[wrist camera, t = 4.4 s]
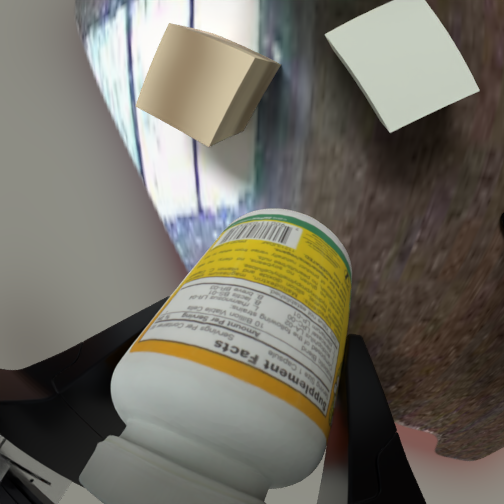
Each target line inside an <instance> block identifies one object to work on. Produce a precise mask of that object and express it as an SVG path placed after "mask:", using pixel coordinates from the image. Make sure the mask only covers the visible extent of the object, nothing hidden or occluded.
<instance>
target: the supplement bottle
mask: <svg viewBox="0 0 504 504" xmlns="http://www.w3.org/2000/svg"><path fill="white" fill-rule="evenodd" d="M351 284H352V268H351V262H350V259H349V256H348V254H347V251H346V249H345V248H344V246H343V245H342V243H341V242H340V241H339V239H338V238H337V237H336V236H335V235H334V234H333V233H332V232H331V231H330V230H329V229H328V228H327V227H325V226H324V225H323V224H321V223H320V222H318V221H317V220H315V219H314V218H312V217H310V216H308V215H305V214H302V213H299V212H295V211H291V210H286V209H262V210H257V211H253V212H250V213H247V214H245V215H243V216H241V217H240V218H238V219H236V220H235V221H233V222H232V223H231V224H230V225H229V226H228V227H227V228H226V229H225V230H224V231H223V232H222V233H221V235H220V236H219V237H218V238H217V240H216V241H215V242H214V243H213V244H212V246H211V247H210V248H209V249H208V251H207V252H206V253H205V254H204V255H203V257H202V258H201V259H200V260H199V261H198V263H197V264H196V265H195V266H194V267H193V269H192V270H191V271H190V272H189V274H188V275H187V276H186V277H185V279H184V280H183V281H182V282H181V284H180V285H179V286H178V288H177V289H176V290H175V291H174V292H173V294H172V295H171V296H170V297H169V299H168V300H167V301H166V302H165V304H164V305H163V306H162V308H161V309H160V310H159V311H158V313H157V314H156V315H155V316H154V318H153V319H152V320H151V322H150V323H149V324H148V325H147V327H146V328H145V329H144V330H143V332H142V333H141V334H140V335H139V337H138V338H137V339H136V340H135V342H134V343H133V344H132V345H131V347H130V348H129V349H128V351H127V352H126V353H125V355H124V356H123V357H122V359H121V360H120V362H119V363H118V364H117V366H116V368H115V370H114V373H113V376H112V380H111V396H112V401H113V404H114V407H115V409H116V411H117V413H118V414H119V416H120V418H121V419H122V420H123V422H124V423H125V424H126V425H127V426H126V428H125V430H124V431H123V432H122V434H121V435H120V436H119V437H117V436H108V437H107V438H106V439H105V440H104V441H102V442H99V443H98V444H97V447H96V449H95V451H94V453H93V455H92V456H91V458H90V460H89V461H88V463H87V464H86V466H85V468H84V469H83V471H82V473H81V474H80V476H79V481H80V483H81V484H82V485H83V486H84V488H86V489H87V490H88V491H89V492H90V493H91V494H93V495H94V496H95V497H96V498H98V499H99V500H100V501H101V502H102V503H104V504H266V503H264V500H265V497H266V494H267V491H268V489H276V488H283V487H287V486H290V485H293V484H296V483H298V482H300V481H302V480H303V479H305V478H306V477H307V476H309V475H310V474H311V473H312V472H313V471H314V470H315V469H316V467H317V466H318V464H319V463H320V461H321V460H322V457H323V455H324V452H325V449H326V446H327V442H328V438H329V433H330V430H331V427H332V421H333V414H334V410H335V405H336V399H337V393H338V387H339V382H340V377H341V369H342V364H343V359H344V352H345V344H346V337H347V329H348V320H349V312H350V301H351Z"/></svg>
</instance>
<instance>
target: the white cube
mask: <svg viewBox="0 0 504 504" xmlns="http://www.w3.org/2000/svg"><path fill="white" fill-rule="evenodd" d="M325 36H326V38H327V40H328V42H329V44H330V46H331V48H332V49H333V51H334V52H335V53H336V55H337V56H338V57H339V59H340V60H341V62H342V63H343V64H344V66H345V67H346V69H347V70H348V71H349V73H350V74H351V76H352V77H353V79H354V80H355V82H356V83H357V85H358V86H359V88H360V89H361V91H362V92H363V94H364V95H365V97H366V99H367V100H368V102H369V103H370V105H371V107H372V108H373V110H374V112H375V113H376V115H377V117H378V118H379V120H380V121H381V123H382V124H383V125H384V126H385V127H386V129H387V130H388V131H389V132H390V133H391V132H393V131H395V130H397V129H399V128H401V127H403V126H405V125H407V124H409V123H411V122H413V121H416V120H418V119H420V118H422V117H424V116H426V115H428V114H430V113H432V112H434V111H437V110H439V109H441V108H443V107H445V106H447V105H449V104H452V103H454V102H456V101H458V100H460V99H463V98H465V97H467V96H469V95H471V94H474V93H476V92H478V91H480V90H479V88H478V86H477V84H476V82H475V80H474V78H473V76H472V74H471V72H470V70H469V68H468V66H467V65H466V63H465V61H464V59H463V57H462V55H461V54H460V52H459V50H458V49H457V47H456V45H455V44H454V42H453V40H452V39H451V37H450V36H449V34H448V32H447V31H446V29H445V28H444V26H443V25H442V23H441V22H440V20H439V19H438V18H437V16H436V15H435V13H434V12H433V11H432V9H431V8H430V6H429V5H428V4H427V2H426V1H425V0H393V1H391V2H389V3H386V4H384V5H382V6H380V7H377V8H375V9H373V10H371V11H369V12H367V13H365V14H362V15H360V16H358V17H356V18H354V19H352V20H350V21H349V22H347V23H345V24H343V25H341V26H339V27H337V28H335V29H333V30H332V31H330V32H328V33H326V34H325Z"/></svg>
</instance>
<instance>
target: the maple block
mask: <svg viewBox="0 0 504 504" xmlns="http://www.w3.org/2000/svg"><path fill="white" fill-rule="evenodd" d="M280 66H281V64H279V63H277V62H275V61H273V60H271V59H269V58H267V57H265V56H263V55H261V54H259V53H257V52H255V51H252V50H250V49H248V48H246V47H244V46H242V45H239V44H237V43H235V42H232V41H230V40H228V39H225V38H223V37H220V36H218V35H215V34H213V33H209V32H205V31H201V30H197V29H193V28H189V27H185V26H180V25H175V24H171V23H169V25H168V27H167V29H166V31H165V33H164V35H163V37H162V40H161V42H160V44H159V46H158V49H157V51H156V53H155V56H154V58H153V61H152V63H151V66H150V68H149V71H148V73H147V76H146V78H145V81H144V84H143V87H142V89H141V92H140V95H139V98H138V101H137V104H136V107H138V108H140V109H141V110H143V111H145V112H147V113H149V114H151V115H153V116H155V117H156V118H158V119H160V120H162V121H164V122H165V123H167V124H169V125H171V126H173V127H174V128H176V129H178V130H180V131H182V132H183V133H185V134H187V135H189V136H190V137H192V138H194V139H195V140H197V141H199V142H201V143H202V144H204V145H206V146H207V147H210V146H212V145H214V144H216V143H218V142H221V141H223V140H225V139H227V138H229V137H231V136H233V135H236V134H238V133H240V132H242V131H244V129H245V127H246V125H247V123H248V121H249V120H250V118H251V116H252V114H253V112H254V111H255V109H256V107H257V105H258V103H259V102H260V100H261V98H262V96H263V95H264V93H265V91H266V89H267V88H268V86H269V84H270V83H271V81H272V79H273V77H274V76H275V74H276V72H277V71H278V69H279V67H280Z"/></svg>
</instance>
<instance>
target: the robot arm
mask: <svg viewBox="0 0 504 504" xmlns="http://www.w3.org/2000/svg"><path fill="white" fill-rule="evenodd" d="M501 222H502V225H503V227H504V213H503V214H502V216H501ZM169 297H170V296H169ZM169 297H166V298H164V299H162V300H160V301H158V302H156V303H155V304H153V305H151V306H149V307H147V308H145V309H143V310H141V311H140V312H138V313H136V314H134V315H132V316H130V317H128V318H126V319H124V320H123V321H121V322H119V323H117V324H115V325H113V326H111V327H109V328H108V329H106V330H104V331H102V332H100V333H98V334H96V335H94V336H93V337H91V338H89V339H87V340H85V341H84V342H81V343H79V344H77V345H76V346H73V347H71V348H70V349H68V350H66V351H64V352H62V353H59V354H57V355H55V356H52V357H50V358H48V359H46V360H43V361H41V362H38V363H36V364H33V365H31V366H29V367H26V368H23V369H20V370H5V369H0V504H58V503H59V501H60V500H61V498H62V497H63V495H64V493H65V492H66V490H67V489H68V487H69V485H70V484H71V482H74V483H76V484H78V485H80V486H82V487H84V486H83V485H82V484H81V483H80V481H79V476H80V474H81V473H82V471H83V469H84V468H85V466H86V464H87V463H88V461H89V460H90V458H91V456H92V455H93V453H94V451H95V449H96V447H97V444H98V443H99V442H102V441H104V440H105V439H106V438H107V437H108V436H117V437H119V436H120V435H121V434H122V432H123V431H124V430H125V428H126V426H127V425H126V424H125V423H124V422H123V420H122V419H121V418H120V416H119V414H118V413H117V411H116V409H115V407H114V404H113V401H112V396H111V380H112V376H113V373H114V370H115V368H116V366H117V364H118V363H119V362H120V360H121V359H122V357H123V356H124V355H125V353H126V352H127V351H128V349H129V348H130V347H131V345H132V344H133V343H134V342H135V340H136V339H137V338H138V337H139V335H140V334H141V333H142V332H143V330H144V329H145V328H146V327H147V325H148V324H149V323H150V322H151V320H152V319H153V318H154V316H155V315H156V314H157V313H158V311H159V310H160V309H161V308H162V306H163V305H164V304H165V302H166V301H167V300H168V299H169ZM396 431H397V429H396V426H395V423H394V420H393V417H392V414H391V411H390V408H389V406H388V403H387V400H386V397H385V394H384V392H383V389H382V386H381V384H380V381H379V378H378V376H377V373H376V370H375V368H374V365H373V363H372V360H371V358H370V355H369V353H368V350H367V348H366V345H365V343H364V340H363V338H362V336H360V335H354V334H349V335H348V336H347V339H346V344H345V352H344V359H343V364H342V369H341V377H340V382H339V387H338V393H337V399H336V405H335V410H334V414H333V421H332V427H331V430H330V433H329V438H328V442H327V447H326V454H325V461H324V467H323V473H322V479H321V485H320V491H319V496H318V501H317V504H426V502H425V499H424V497H423V495H422V493H421V490H420V488H419V486H418V484H417V481H416V479H415V477H414V475H413V472H412V470H411V468H410V465H409V463H408V460H407V458H406V455H405V452H404V449H403V446H402V444H401V441H400V437H399V435H398V433H397V432H396Z"/></svg>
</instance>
